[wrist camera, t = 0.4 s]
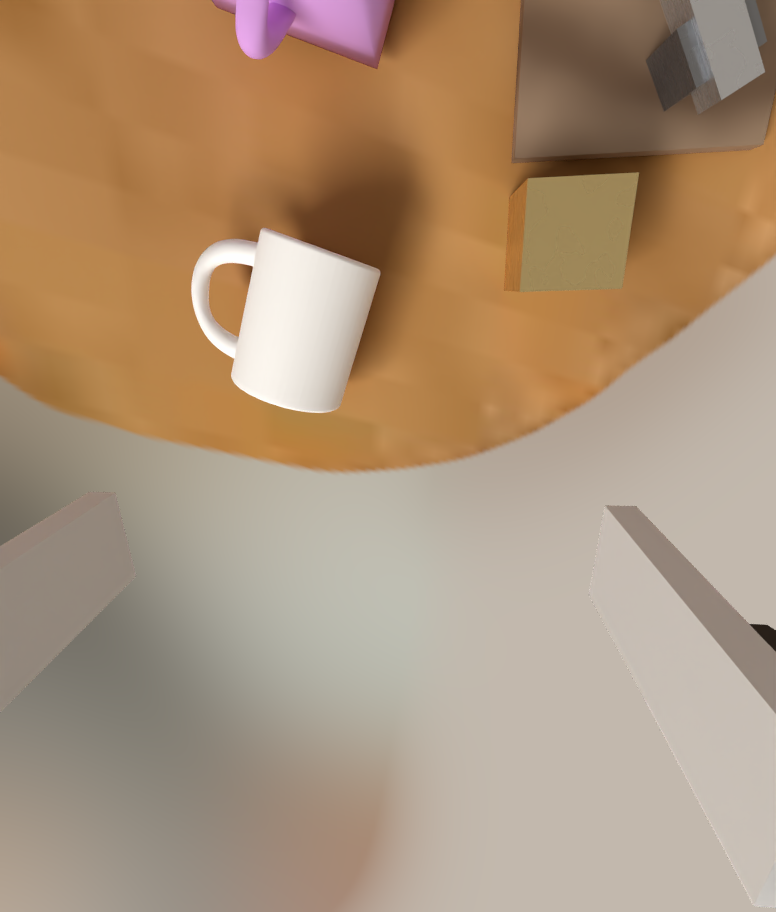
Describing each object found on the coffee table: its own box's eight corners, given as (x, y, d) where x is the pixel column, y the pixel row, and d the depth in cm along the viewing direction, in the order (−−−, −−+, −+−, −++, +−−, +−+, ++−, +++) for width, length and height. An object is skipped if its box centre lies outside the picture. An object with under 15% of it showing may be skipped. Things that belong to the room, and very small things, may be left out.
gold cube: (509, 197, 31) (527, 178, 25) (599, 193, 30) (639, 172, 25) (503, 290, 33) (519, 291, 27) (588, 287, 32) (622, 288, 27)
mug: (386, 271, 33) (374, 267, 25) (347, 396, 37) (327, 424, 29) (230, 214, 32) (172, 194, 25) (207, 347, 36) (150, 363, 29)
